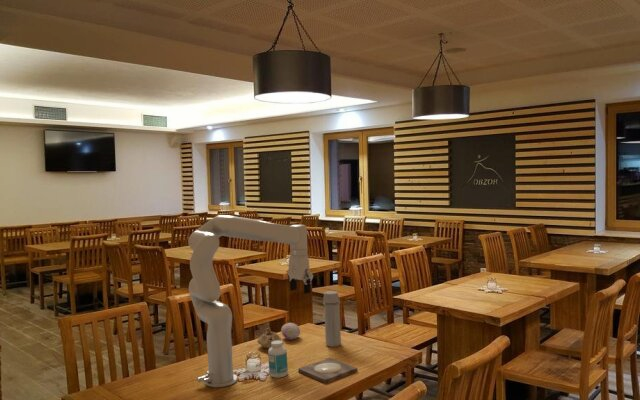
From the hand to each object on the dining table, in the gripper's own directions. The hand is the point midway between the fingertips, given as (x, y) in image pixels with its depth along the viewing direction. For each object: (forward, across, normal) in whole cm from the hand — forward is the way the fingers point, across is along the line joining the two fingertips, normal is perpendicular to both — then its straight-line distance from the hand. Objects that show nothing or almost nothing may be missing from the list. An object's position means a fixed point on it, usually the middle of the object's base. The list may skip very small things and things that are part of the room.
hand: (300, 291), depth 227 cm
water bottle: (+29, -2, +20) cm, 36 cm away
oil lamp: (+30, -22, -2) cm, 37 cm away
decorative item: (+30, -26, +14) cm, 42 cm away
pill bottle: (+30, +8, -19) cm, 36 cm away
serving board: (+30, +20, -3) cm, 36 cm away
